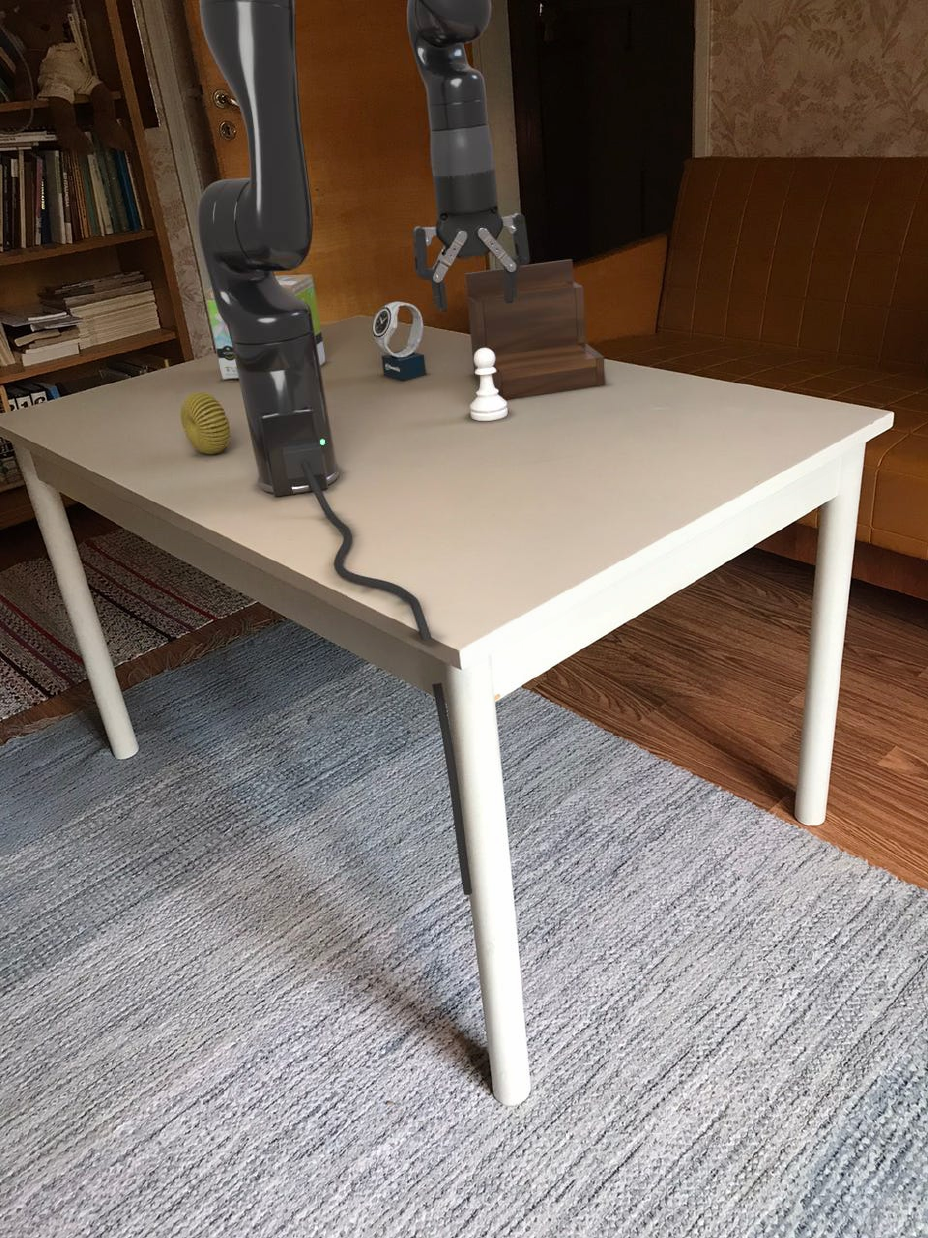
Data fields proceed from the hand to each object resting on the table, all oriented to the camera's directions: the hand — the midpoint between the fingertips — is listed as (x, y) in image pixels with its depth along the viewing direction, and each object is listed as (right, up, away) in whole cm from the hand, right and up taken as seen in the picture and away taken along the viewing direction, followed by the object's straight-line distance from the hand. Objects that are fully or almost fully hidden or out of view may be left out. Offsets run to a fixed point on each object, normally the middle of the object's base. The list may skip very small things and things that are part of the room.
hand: (476, 306), depth 129 cm
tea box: (-33, +1, +39) cm, 51 cm away
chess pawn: (+2, -13, +6) cm, 14 cm away
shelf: (+9, -5, +19) cm, 22 cm away
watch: (-11, -2, +29) cm, 31 cm away
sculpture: (-35, -18, +4) cm, 39 cm away
